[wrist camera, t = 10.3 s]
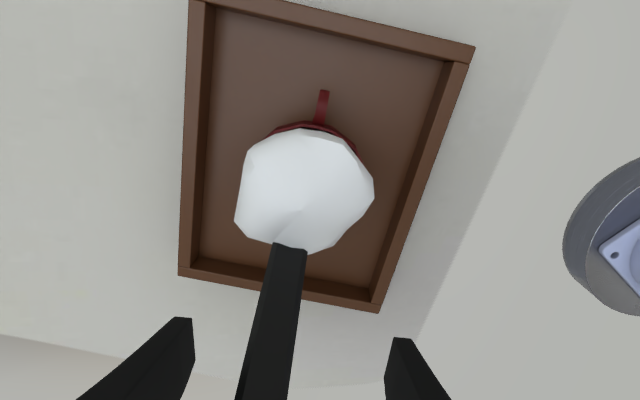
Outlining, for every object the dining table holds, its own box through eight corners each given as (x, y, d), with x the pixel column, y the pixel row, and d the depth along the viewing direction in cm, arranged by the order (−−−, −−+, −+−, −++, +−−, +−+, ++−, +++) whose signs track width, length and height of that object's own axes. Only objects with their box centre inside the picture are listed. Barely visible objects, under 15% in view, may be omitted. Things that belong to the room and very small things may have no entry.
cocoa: (306, 71, 17) (259, 70, 6) (396, 139, 18) (504, 248, 7) (223, 203, 20) (86, 370, 9) (304, 253, 21) (275, 455, 10)
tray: (374, 294, 23) (378, 314, 21) (190, 258, 22) (176, 276, 20) (459, 49, 17) (477, 46, 15) (206, -12, 16) (189, -23, 14)
